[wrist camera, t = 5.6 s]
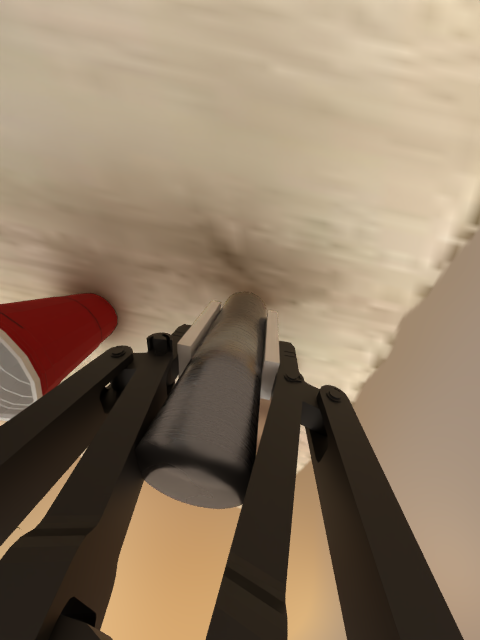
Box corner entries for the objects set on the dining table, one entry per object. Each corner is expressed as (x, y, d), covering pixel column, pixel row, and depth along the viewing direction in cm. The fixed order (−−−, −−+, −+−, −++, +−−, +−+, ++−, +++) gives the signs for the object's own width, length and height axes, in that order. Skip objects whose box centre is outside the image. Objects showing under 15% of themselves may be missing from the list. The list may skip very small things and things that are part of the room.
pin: (225, 288, 17) (122, 425, 5) (270, 295, 16) (263, 458, 5) (222, 327, 19) (140, 491, 7) (262, 334, 18) (244, 519, 7)
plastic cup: (128, 276, 22) (-9, 321, 11) (141, 352, 27) (53, 433, 16) (46, 265, 23) (-146, 296, 13) (73, 339, 28) (-50, 407, 17)
